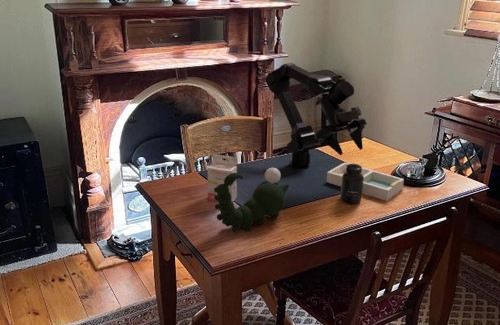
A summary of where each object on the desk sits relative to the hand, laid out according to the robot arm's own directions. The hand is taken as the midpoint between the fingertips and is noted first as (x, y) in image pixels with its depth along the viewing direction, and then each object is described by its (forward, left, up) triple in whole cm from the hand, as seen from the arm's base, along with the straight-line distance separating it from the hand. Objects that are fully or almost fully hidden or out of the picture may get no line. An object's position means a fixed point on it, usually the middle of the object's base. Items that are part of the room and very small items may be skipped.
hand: (351, 151), depth 165 cm
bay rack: (+6, +3, -14) cm, 15 cm away
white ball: (-27, +5, -14) cm, 31 cm away
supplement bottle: (-1, -8, -14) cm, 16 cm away
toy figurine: (-32, -24, -14) cm, 43 cm away
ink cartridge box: (-43, -8, -14) cm, 46 cm away
